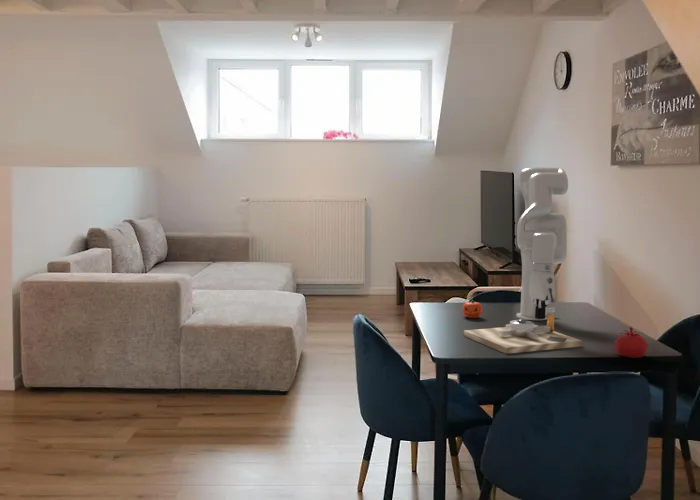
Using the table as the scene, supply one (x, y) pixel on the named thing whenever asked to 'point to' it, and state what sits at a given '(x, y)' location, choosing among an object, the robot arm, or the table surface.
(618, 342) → the pomegranate
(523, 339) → the wooden board
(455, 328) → the table surface
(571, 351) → the table surface
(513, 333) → the cylinder
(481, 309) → the pumpkin
